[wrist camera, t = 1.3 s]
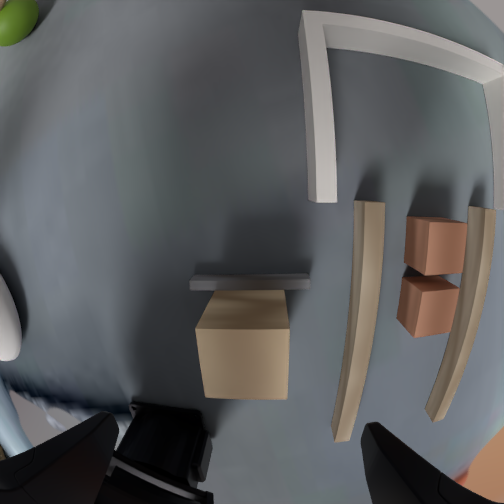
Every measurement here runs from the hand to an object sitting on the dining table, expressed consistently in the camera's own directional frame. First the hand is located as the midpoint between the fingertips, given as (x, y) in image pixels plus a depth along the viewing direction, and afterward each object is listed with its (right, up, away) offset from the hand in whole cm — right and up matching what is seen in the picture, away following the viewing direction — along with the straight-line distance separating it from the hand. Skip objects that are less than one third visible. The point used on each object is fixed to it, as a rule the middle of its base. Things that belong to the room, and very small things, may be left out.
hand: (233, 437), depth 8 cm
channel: (+12, +1, +10) cm, 15 cm away
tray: (+12, +15, +6) cm, 20 cm away
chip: (+12, +7, +8) cm, 16 cm away
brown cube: (+12, +3, +9) cm, 15 cm away
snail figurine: (-21, +28, +6) cm, 36 cm away
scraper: (+1, +2, +10) cm, 10 cm away
